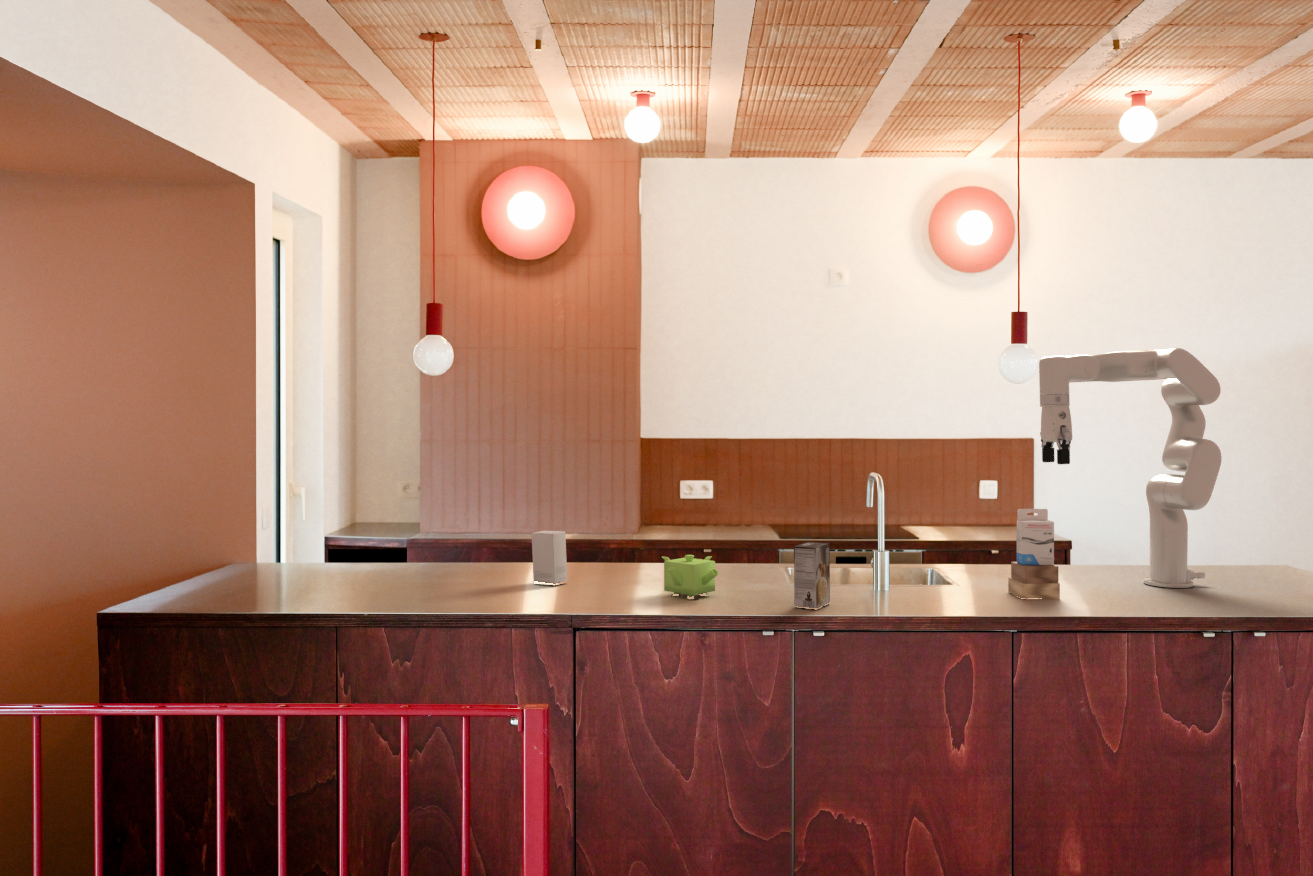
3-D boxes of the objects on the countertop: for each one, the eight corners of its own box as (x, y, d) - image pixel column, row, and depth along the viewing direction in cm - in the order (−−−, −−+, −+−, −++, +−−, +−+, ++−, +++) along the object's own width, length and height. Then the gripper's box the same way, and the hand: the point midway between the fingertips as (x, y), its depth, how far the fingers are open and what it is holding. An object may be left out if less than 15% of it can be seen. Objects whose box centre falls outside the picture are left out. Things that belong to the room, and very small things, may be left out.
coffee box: (807, 602, 248) (807, 541, 247) (830, 604, 244) (830, 543, 244) (793, 608, 240) (793, 545, 239) (817, 611, 236) (816, 547, 236)
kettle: (661, 591, 265) (661, 551, 265) (711, 590, 266) (711, 550, 266) (665, 601, 250) (665, 559, 250) (718, 600, 251) (718, 558, 251)
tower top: (1043, 577, 259) (1043, 561, 259) (1058, 583, 250) (1058, 566, 250) (1011, 578, 258) (1011, 561, 258) (1024, 583, 249) (1024, 566, 249)
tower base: (1044, 593, 259) (1044, 577, 259) (1059, 600, 249) (1059, 583, 249) (1008, 593, 260) (1008, 577, 259) (1021, 600, 250) (1021, 583, 249)
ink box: (1021, 565, 252) (1021, 510, 252) (1016, 562, 257) (1015, 508, 256) (1054, 565, 251) (1054, 510, 251) (1048, 562, 256) (1048, 508, 256)
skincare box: (567, 583, 278) (567, 531, 277) (553, 587, 272) (553, 533, 272) (545, 581, 282) (545, 529, 282) (531, 584, 277) (530, 531, 276)
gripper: (1082, 400, 251) (1083, 464, 251) (1054, 401, 268) (1056, 461, 269) (1054, 401, 251) (1055, 465, 251) (1028, 401, 268) (1029, 461, 269)
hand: (1055, 463), depth 260 cm, fingers open, 9 cm apart
